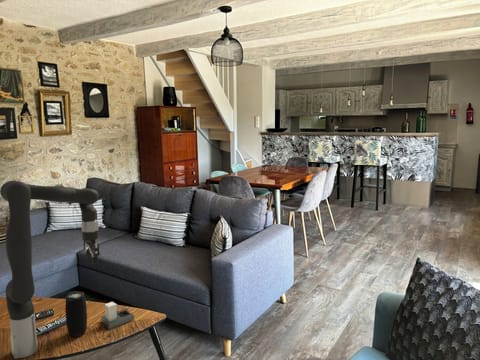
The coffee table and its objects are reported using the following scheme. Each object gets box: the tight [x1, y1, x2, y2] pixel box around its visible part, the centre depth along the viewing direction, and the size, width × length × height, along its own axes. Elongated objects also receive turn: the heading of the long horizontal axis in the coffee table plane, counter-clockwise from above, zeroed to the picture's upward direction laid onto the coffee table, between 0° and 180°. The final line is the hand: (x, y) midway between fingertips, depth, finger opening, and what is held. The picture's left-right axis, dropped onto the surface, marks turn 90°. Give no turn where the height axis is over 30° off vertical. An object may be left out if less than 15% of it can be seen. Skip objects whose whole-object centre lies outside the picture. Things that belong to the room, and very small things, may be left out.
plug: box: [104, 301, 119, 322], centre depth 183 cm, size 5×4×10 cm
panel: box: [100, 308, 135, 330], centre depth 185 cm, size 13×10×3 cm
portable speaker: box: [64, 290, 88, 338], centre depth 172 cm, size 9×9×20 cm
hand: (91, 261), depth 179 cm, fingers open, 8 cm apart
